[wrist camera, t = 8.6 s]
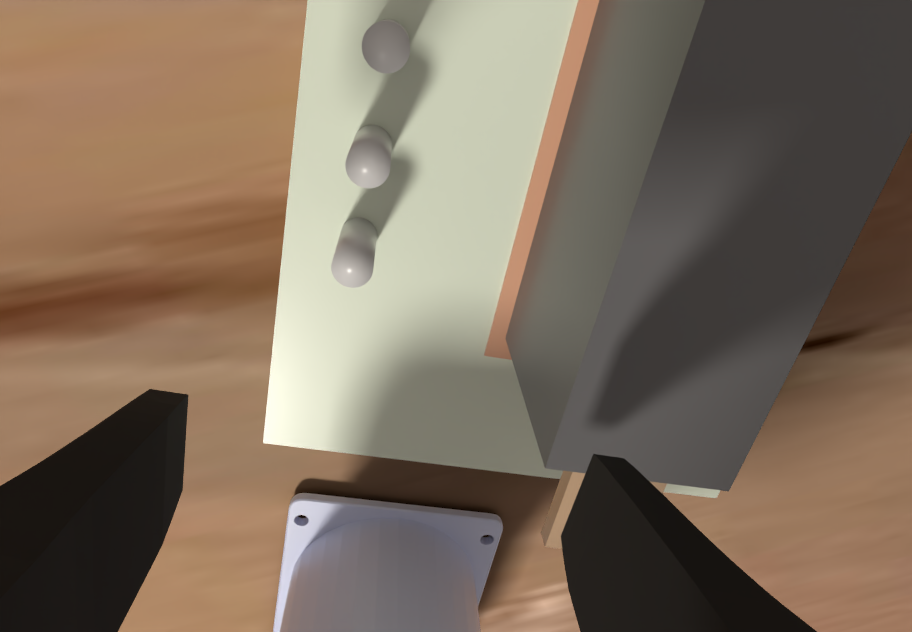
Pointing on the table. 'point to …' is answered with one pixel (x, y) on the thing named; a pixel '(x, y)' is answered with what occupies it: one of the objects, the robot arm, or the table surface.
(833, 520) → the table surface
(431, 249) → the board
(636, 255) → the block
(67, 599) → the robot arm
